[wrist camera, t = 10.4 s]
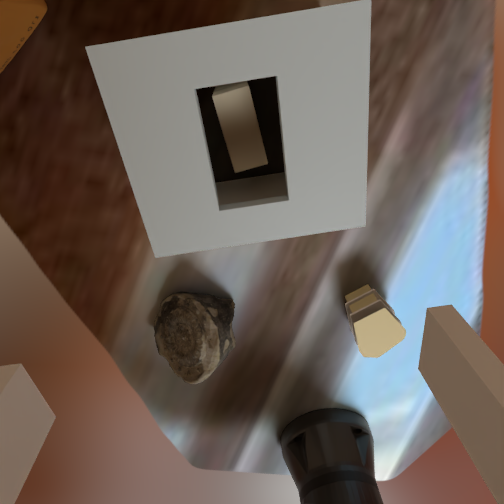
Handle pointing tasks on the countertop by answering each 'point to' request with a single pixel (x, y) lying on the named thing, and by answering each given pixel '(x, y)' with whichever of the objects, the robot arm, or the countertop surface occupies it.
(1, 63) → the coffee package
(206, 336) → the fossil
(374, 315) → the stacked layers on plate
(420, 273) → the countertop surface
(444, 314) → the robot arm
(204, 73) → the slot box
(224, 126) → the tan rectangular block
